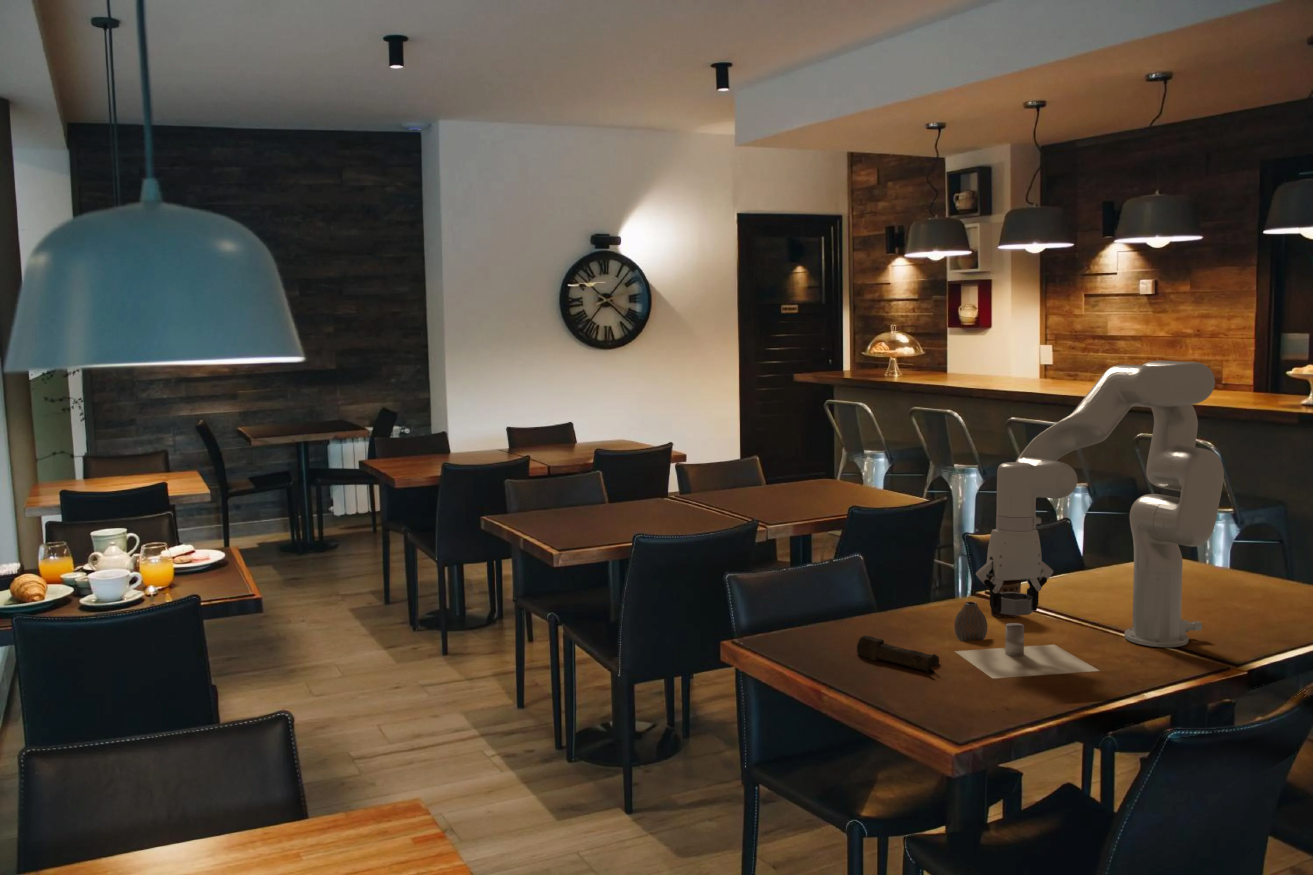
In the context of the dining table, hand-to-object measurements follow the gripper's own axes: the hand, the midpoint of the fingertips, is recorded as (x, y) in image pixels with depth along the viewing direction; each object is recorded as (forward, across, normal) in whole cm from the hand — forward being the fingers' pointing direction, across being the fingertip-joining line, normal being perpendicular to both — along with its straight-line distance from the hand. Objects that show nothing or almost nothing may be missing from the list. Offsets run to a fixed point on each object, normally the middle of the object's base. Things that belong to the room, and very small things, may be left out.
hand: (1013, 609), depth 225 cm
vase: (+11, +3, -15) cm, 19 cm away
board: (+11, 0, +4) cm, 12 cm away
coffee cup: (+11, -14, -34) cm, 38 cm away
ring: (0, 0, 0) cm, 0 cm away
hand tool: (+12, +24, -4) cm, 27 cm away
